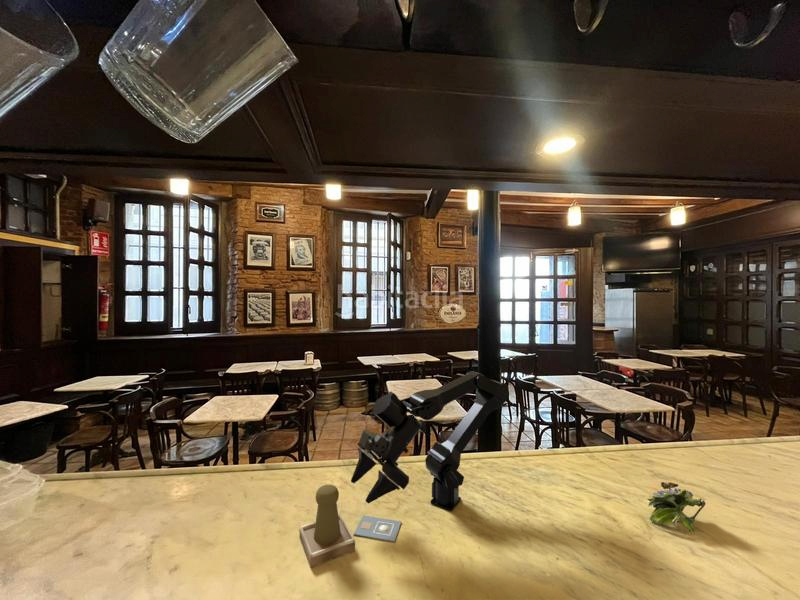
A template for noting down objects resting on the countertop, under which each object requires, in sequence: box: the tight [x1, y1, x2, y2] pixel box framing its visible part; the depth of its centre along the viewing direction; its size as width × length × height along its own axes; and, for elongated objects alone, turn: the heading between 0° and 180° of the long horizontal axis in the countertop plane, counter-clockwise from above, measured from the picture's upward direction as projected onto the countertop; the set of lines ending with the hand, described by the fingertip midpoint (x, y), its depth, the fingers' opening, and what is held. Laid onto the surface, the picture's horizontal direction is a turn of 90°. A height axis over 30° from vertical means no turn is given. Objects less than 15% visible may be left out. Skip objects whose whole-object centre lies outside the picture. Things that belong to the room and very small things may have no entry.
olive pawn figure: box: [314, 484, 341, 545], centre depth 79 cm, size 6×6×11 cm
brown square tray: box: [299, 513, 356, 568], centre depth 80 cm, size 10×10×3 cm
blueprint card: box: [352, 515, 402, 543], centre depth 85 cm, size 10×7×1 cm
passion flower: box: [646, 481, 706, 533], centre depth 87 cm, size 11×11×12 cm
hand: (359, 491), depth 83 cm, fingers open, 9 cm apart
